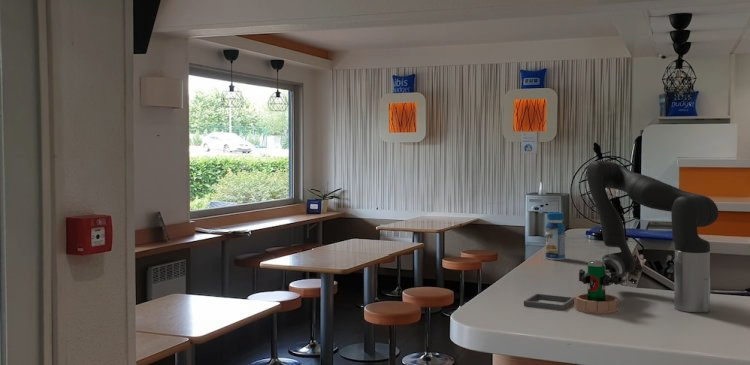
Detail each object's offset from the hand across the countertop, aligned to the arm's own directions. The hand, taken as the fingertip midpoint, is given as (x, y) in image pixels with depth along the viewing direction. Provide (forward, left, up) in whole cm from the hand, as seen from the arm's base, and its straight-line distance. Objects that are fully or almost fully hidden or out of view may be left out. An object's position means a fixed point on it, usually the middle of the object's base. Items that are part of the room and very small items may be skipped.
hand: (594, 281), depth 193 cm
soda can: (0, -3, -7) cm, 7 cm away
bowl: (0, -3, -9) cm, 9 cm away
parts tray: (+14, -3, -9) cm, 17 cm away
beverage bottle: (+37, -88, -9) cm, 96 cm away
